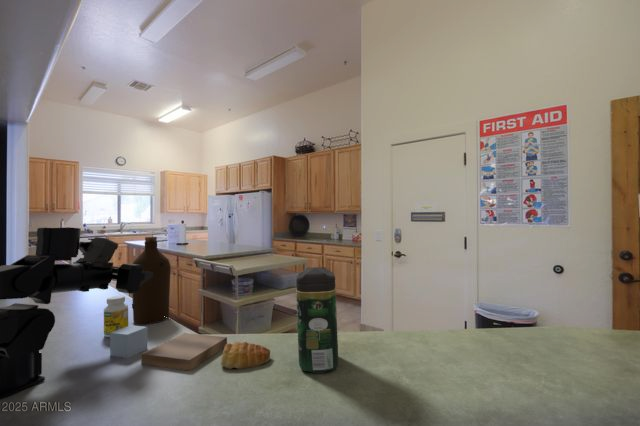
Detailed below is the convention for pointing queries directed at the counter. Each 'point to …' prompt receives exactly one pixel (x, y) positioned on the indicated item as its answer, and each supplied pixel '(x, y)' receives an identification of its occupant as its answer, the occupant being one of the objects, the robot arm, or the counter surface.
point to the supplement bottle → (115, 315)
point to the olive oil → (152, 286)
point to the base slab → (184, 351)
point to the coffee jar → (317, 320)
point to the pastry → (244, 355)
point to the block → (128, 341)
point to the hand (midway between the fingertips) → (139, 272)
